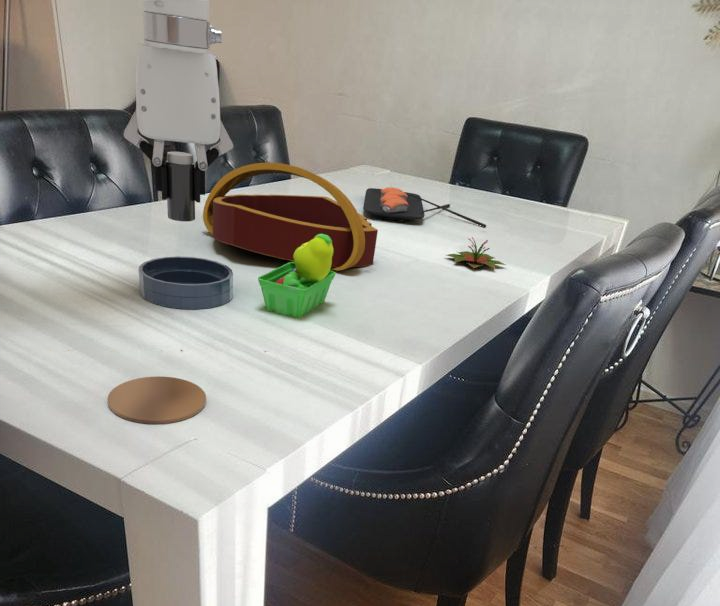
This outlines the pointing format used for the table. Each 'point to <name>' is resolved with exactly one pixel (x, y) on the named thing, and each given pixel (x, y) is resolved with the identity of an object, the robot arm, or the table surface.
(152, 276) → the bowl
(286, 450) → the table surface
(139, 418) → the cork coaster
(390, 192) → the sushi plate
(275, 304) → the fruit basket
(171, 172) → the salt shaker
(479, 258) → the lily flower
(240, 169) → the decorative basket
